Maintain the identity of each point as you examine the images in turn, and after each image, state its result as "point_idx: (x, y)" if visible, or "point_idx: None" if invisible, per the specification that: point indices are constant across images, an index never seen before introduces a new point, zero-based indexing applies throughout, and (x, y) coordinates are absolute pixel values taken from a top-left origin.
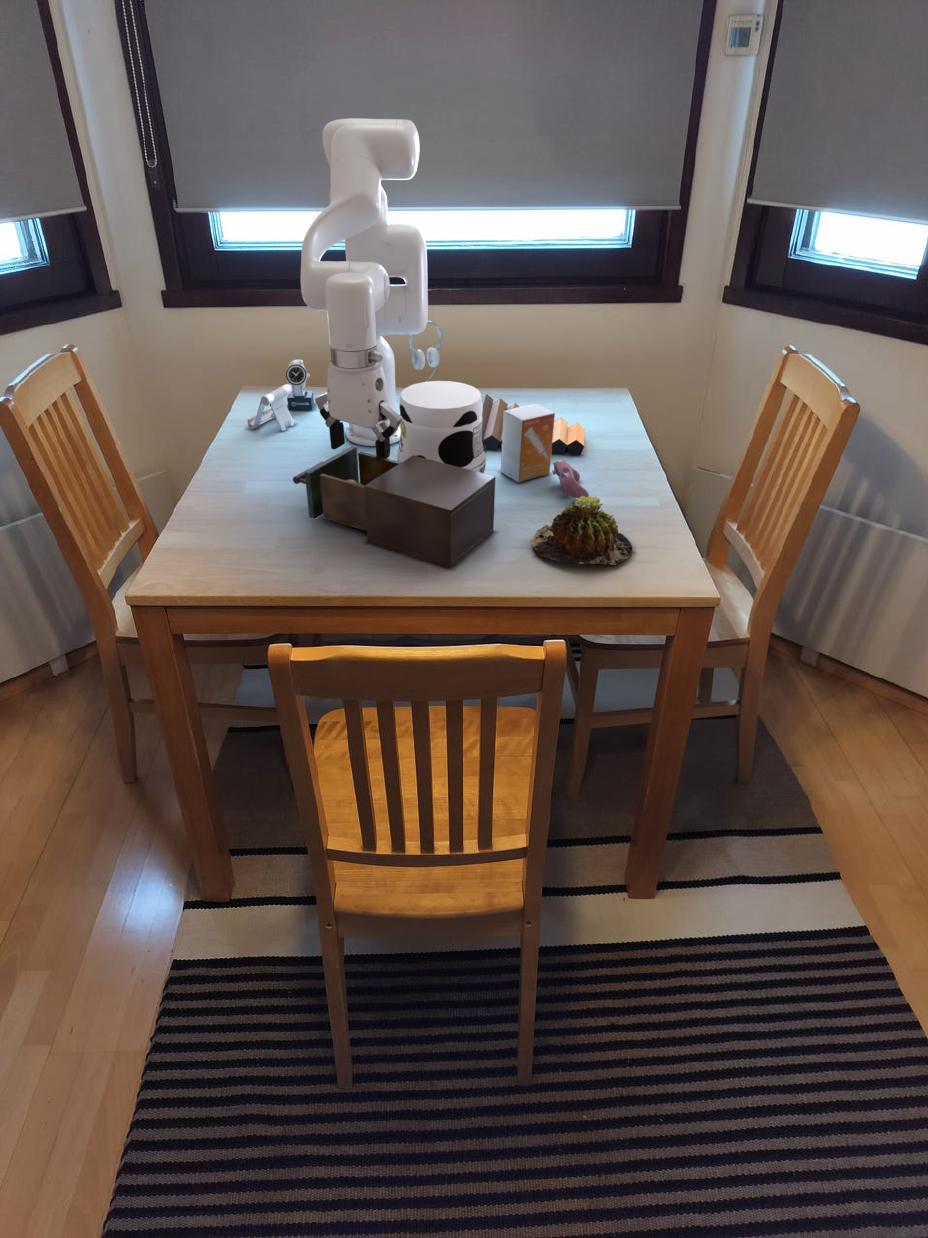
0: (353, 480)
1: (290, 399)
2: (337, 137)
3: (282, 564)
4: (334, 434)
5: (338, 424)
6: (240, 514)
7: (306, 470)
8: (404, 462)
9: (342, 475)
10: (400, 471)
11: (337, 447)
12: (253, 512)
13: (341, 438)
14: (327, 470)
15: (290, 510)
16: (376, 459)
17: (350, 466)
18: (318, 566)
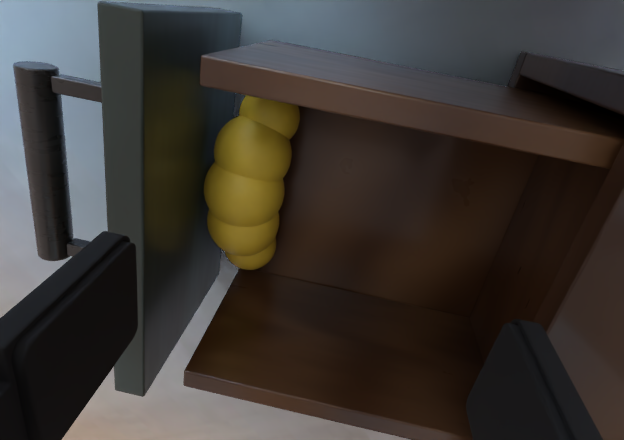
0: (254, 150)
1: None
2: None
3: (266, 436)
4: (75, 409)
5: (12, 408)
6: (11, 271)
7: (36, 191)
8: (620, 235)
9: (193, 152)
10: (613, 356)
11: (136, 311)
12: (29, 252)
13: (108, 300)
14: (160, 277)
15: (106, 210)
16: (469, 415)
17: (186, 85)
18: (347, 429)
